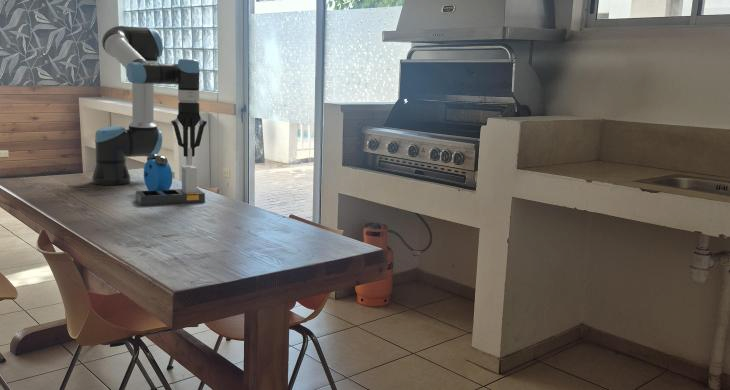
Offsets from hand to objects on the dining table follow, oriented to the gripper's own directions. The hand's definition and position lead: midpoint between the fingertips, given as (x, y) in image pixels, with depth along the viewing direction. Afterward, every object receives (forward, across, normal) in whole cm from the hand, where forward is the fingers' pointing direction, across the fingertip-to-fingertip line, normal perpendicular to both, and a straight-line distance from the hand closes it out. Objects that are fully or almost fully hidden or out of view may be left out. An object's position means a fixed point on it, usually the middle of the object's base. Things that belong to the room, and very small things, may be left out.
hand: (189, 165), depth 249 cm
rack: (+13, -7, 0) cm, 15 cm away
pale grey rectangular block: (+13, 0, 0) cm, 13 cm away
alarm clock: (+14, -8, +19) cm, 25 cm away
